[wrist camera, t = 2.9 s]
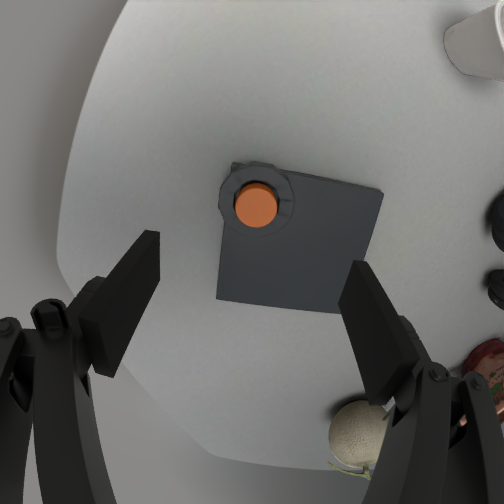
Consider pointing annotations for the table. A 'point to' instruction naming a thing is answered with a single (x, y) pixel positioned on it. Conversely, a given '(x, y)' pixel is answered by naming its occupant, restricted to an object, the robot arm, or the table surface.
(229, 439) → the table surface
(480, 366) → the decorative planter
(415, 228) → the table surface
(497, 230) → the headphones
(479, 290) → the table surface
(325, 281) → the scale
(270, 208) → the button
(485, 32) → the dixie cup
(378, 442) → the fruit
